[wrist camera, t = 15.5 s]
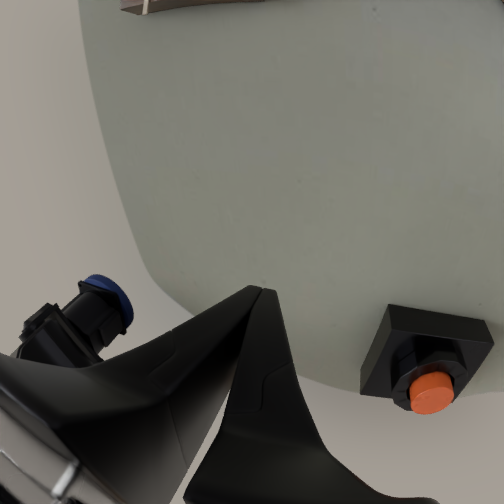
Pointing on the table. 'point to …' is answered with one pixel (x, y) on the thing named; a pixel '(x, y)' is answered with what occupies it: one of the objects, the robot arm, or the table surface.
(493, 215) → the table surface
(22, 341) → the robot arm
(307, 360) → the table surface
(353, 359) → the table surface
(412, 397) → the button
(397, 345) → the button box
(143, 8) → the panel
